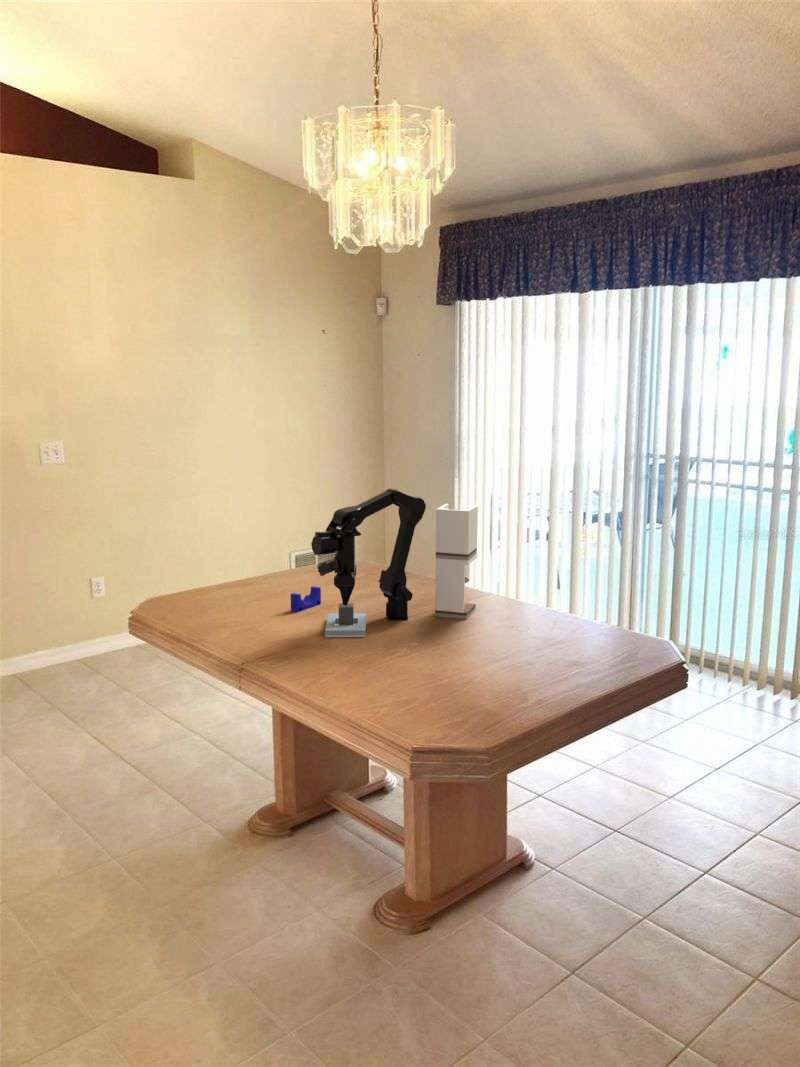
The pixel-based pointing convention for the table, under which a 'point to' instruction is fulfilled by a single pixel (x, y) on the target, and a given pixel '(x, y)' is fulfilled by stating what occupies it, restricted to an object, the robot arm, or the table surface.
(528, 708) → the table surface
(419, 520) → the robot arm
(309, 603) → the blue notched cradle
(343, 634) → the socket
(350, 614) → the plug
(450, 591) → the white dispenser
